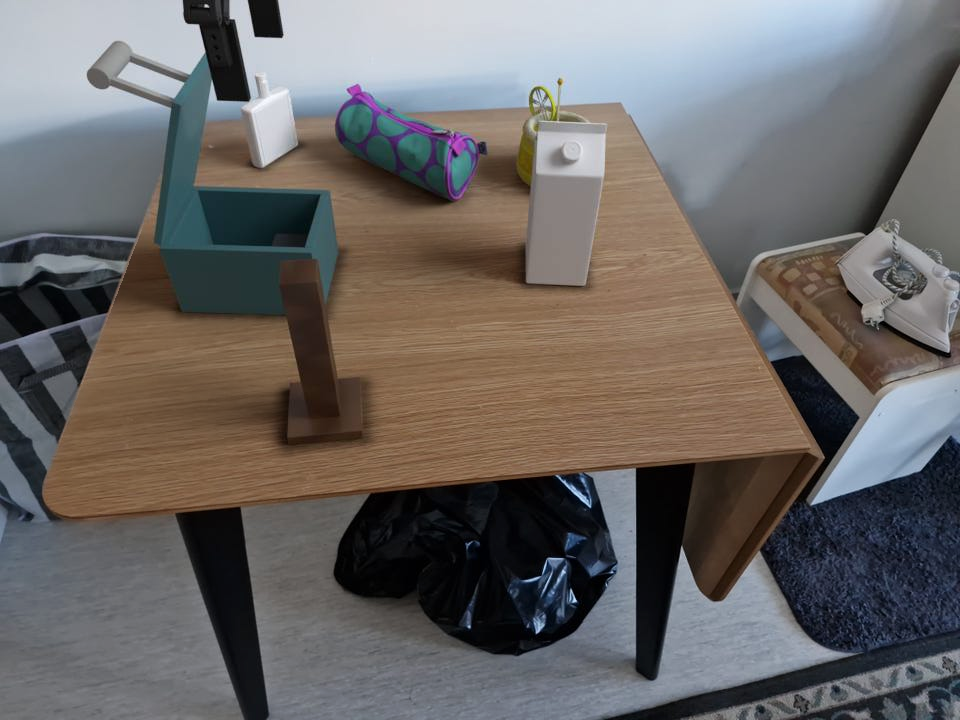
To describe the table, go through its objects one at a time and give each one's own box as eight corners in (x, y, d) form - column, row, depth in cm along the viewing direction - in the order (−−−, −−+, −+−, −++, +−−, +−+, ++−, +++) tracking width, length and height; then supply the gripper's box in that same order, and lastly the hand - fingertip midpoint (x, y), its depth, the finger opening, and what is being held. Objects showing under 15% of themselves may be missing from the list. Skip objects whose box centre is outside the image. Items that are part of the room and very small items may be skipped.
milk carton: (525, 248, 91) (538, 104, 77) (581, 250, 91) (604, 107, 77) (525, 284, 86) (539, 138, 72) (585, 287, 86) (610, 141, 72)
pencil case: (486, 185, 101) (489, 121, 94) (447, 214, 96) (447, 148, 89) (375, 138, 109) (370, 75, 102) (333, 162, 104) (325, 98, 97)
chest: (338, 252, 89) (329, 189, 83) (322, 316, 81) (311, 252, 75) (210, 248, 89) (192, 185, 83) (181, 312, 81) (158, 248, 75)
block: (312, 288, 83) (307, 258, 80) (274, 287, 83) (267, 256, 80) (319, 264, 86) (314, 234, 83) (282, 263, 86) (275, 233, 83)
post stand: (288, 445, 69) (250, 302, 56) (291, 390, 73) (257, 247, 60) (363, 438, 69) (342, 295, 56) (361, 384, 74) (341, 242, 61)
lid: (217, 49, 72) (123, 12, 69) (181, 105, 63) (73, 65, 61) (194, 183, 83) (113, 155, 80) (161, 245, 74) (69, 216, 72)
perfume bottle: (262, 169, 102) (244, 87, 93) (251, 165, 103) (233, 83, 94) (299, 145, 107) (286, 65, 98) (289, 141, 108) (275, 61, 99)
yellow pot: (596, 200, 99) (609, 118, 90) (516, 198, 99) (522, 115, 90) (588, 152, 108) (600, 73, 99) (515, 149, 108) (520, 70, 99)
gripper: (196, -200, 43) (263, 133, 58) (283, -250, 60) (317, 15, 75) (69, -205, 43) (168, 130, 58) (193, -253, 60) (245, 13, 75)
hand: (253, 66), depth 67 cm, fingers open, 13 cm apart
